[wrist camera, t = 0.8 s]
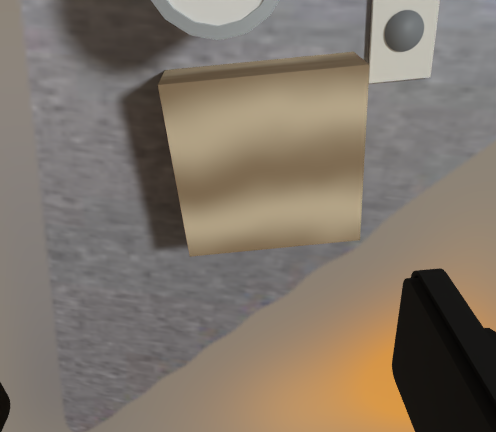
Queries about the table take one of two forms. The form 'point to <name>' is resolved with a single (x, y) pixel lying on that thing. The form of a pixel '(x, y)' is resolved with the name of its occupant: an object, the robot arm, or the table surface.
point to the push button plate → (402, 39)
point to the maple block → (268, 151)
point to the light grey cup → (215, 16)
